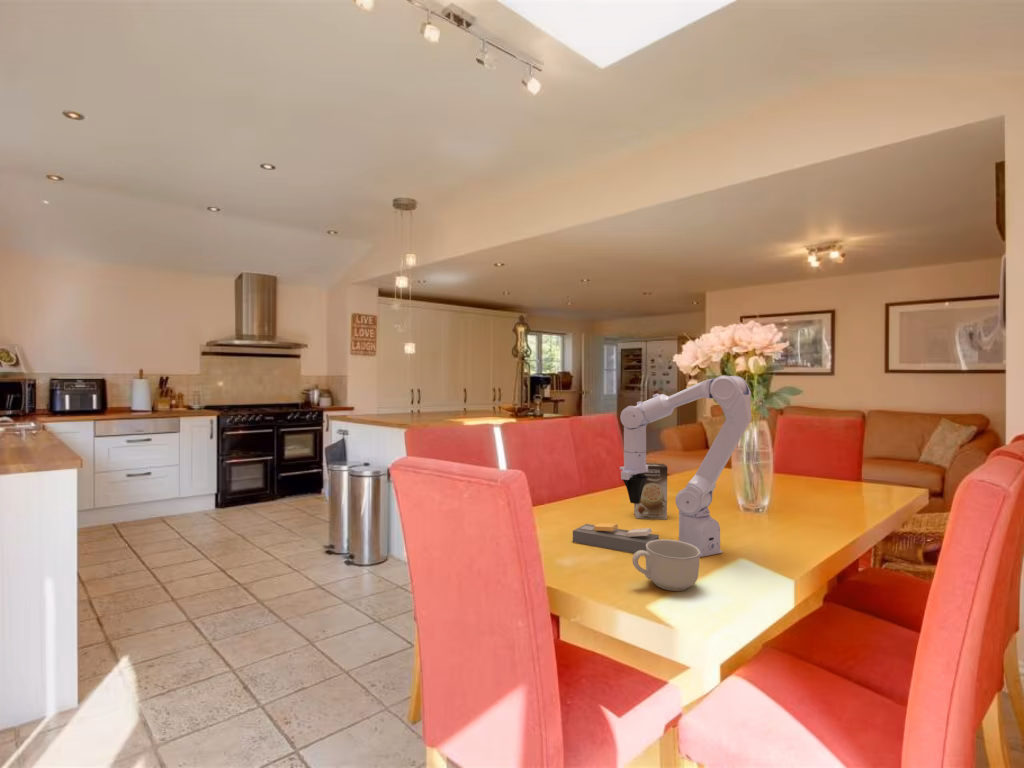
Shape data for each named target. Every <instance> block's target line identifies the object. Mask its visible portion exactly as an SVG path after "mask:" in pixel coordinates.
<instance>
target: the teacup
mask: <svg viewBox="0 0 1024 768" xmlns="http://www.w3.org/2000/svg"><path fill="white" fill-rule="evenodd" d="M643 556H644V557H645V568H643V567H641V565H640V564H639V559H640V558H641V557H643ZM700 558H701V557H700V550H699V549H698V548H697V547H695V546H693V545H692V544H689V543H686V542H682V541H679V540H675V539H662V538H661V539H660V538H659V540H652V541H649V542H648V543H647V544H646V551H644V550H639V551H637V552H636V553H633V556H632V560H631V561H632V565H633V566H634V569H636V570H637V571H638V572H640V573H641V574H643V575H644V576H645V578H646V579H648V580H650V581H652V582H653V584H654V585H655V586H657V587H658V588H659V589H660V588H661V589H662V590H667V591H673V592H680V591H681V592H682V591H683V592H684V591H685V590H686V591H687V590H688V589H689V588H690V587H692V586H693V585H695V584H696V582H697V581H698V578H699V570H700Z"/></svg>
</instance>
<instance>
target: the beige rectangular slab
mask: <svg viewBox="0 0 1024 768" xmlns="http://www.w3.org/2000/svg"><path fill="white" fill-rule="evenodd" d="M652 532H653V531H652V528H651V527H650V528H649V527H648V528H635V529H634V528H633V529H630V530H629V532H627V536H628V537H633V536H647V535H649V534H652Z"/></svg>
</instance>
